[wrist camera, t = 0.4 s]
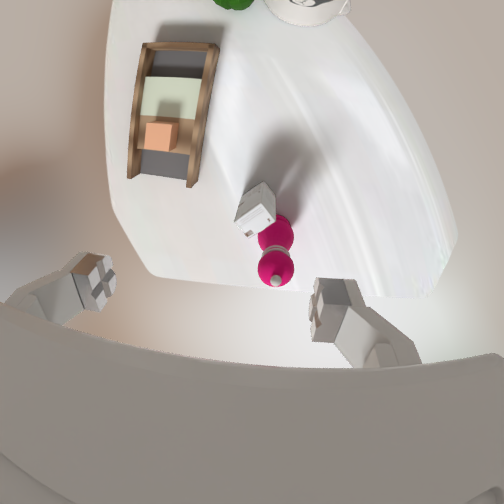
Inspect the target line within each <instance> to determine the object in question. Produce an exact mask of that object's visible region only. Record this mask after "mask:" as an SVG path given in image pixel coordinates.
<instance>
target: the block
mask: <svg viewBox="0 0 504 504" xmlns="http://www.w3.org/2000/svg"><path fill="white" fill-rule="evenodd" d="M178 128H179V123H174V122H163V121H152V122H148V123H147V124H146V133H145V144H144V149H150V150H159V151H168V152H169V151H171V150H173V149H175V148H176V143H177V135H178Z"/></svg>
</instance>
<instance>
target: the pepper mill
mask: <svg viewBox="0 0 504 504" xmlns="http://www.w3.org/2000/svg"><path fill="white" fill-rule="evenodd" d="M293 240H294V234H293V230H292V228H291V227H290V224H289V222H288V220H287V219H286V218H285V217H283V216H281V215H276V221H275V222H274V223H272V224H271V225H269V226H268V227H266V228H265V229H264V230H263V231H261V232H259V233H258V242H259V245H260V247H261V249H262V250H263V251H264V252H263V253H262V258H261V259H260V261H259V264H258V274H259V277H260V278H261V280H262V281H263V282H264V283H265V284H267V285H269V286H272V287H279V286H283V285H285V284H287V283H288V282H289V281H290V280H291V278H292V276H293V273H294V264H293V261H292V260H291V258H290V254H289V252H288V251H289V249H290V248H291V246H292V244H293Z"/></svg>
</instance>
